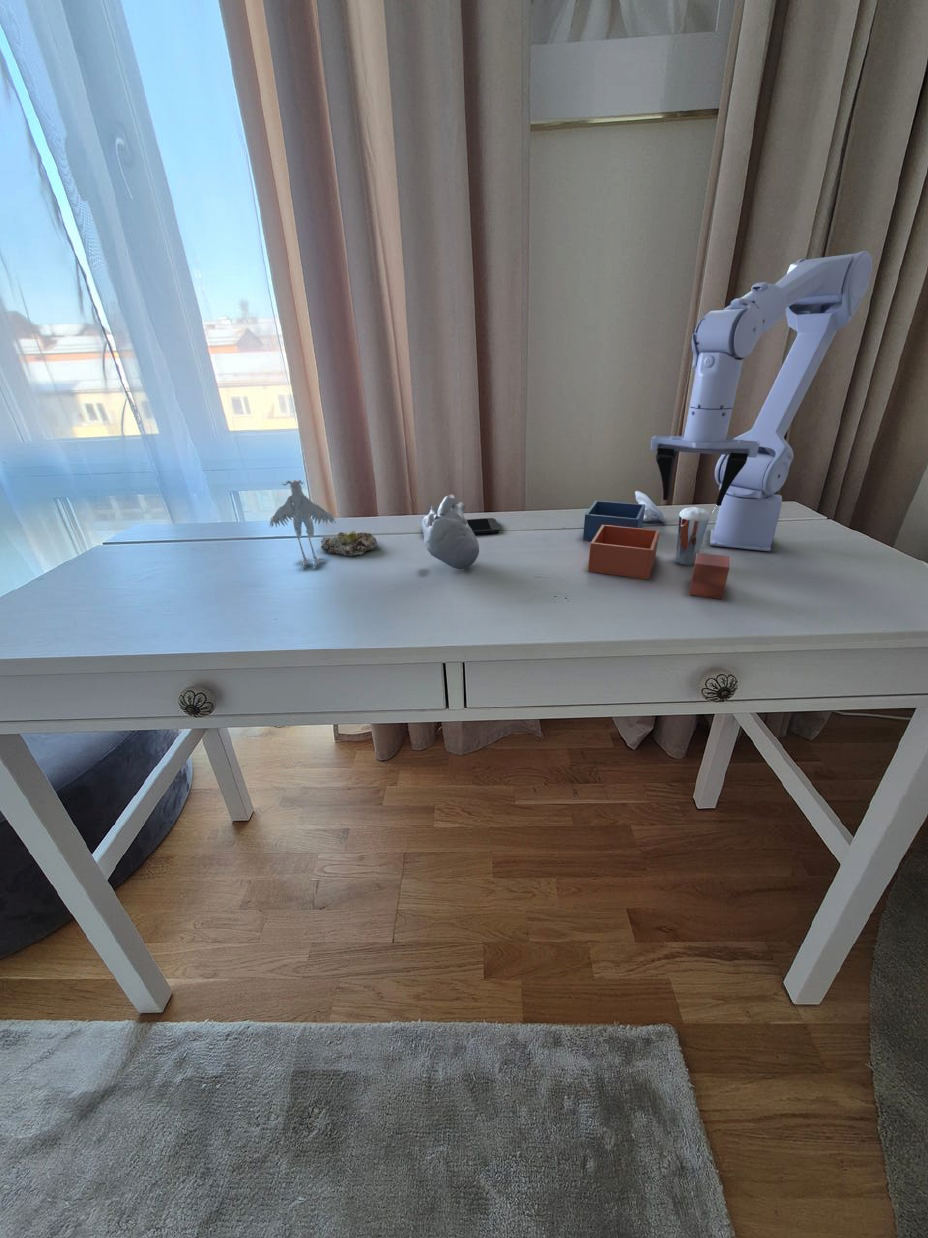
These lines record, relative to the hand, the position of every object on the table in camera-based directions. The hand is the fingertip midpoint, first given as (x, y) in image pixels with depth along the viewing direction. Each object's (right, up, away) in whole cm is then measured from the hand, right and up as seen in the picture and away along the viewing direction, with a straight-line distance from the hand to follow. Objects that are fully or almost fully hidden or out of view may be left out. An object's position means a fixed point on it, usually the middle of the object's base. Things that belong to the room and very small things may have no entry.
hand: (691, 501), depth 79 cm
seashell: (+2, +2, +24) cm, 25 cm away
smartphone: (-36, 0, +24) cm, 43 cm away
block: (0, -14, -4) cm, 15 cm away
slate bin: (-7, -2, +18) cm, 20 cm away
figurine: (-63, -9, +11) cm, 64 cm away
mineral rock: (-57, -5, +17) cm, 60 cm away
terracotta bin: (-9, -9, +6) cm, 14 cm away
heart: (-38, -9, +8) cm, 40 cm away
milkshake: (+2, -9, +6) cm, 11 cm away
